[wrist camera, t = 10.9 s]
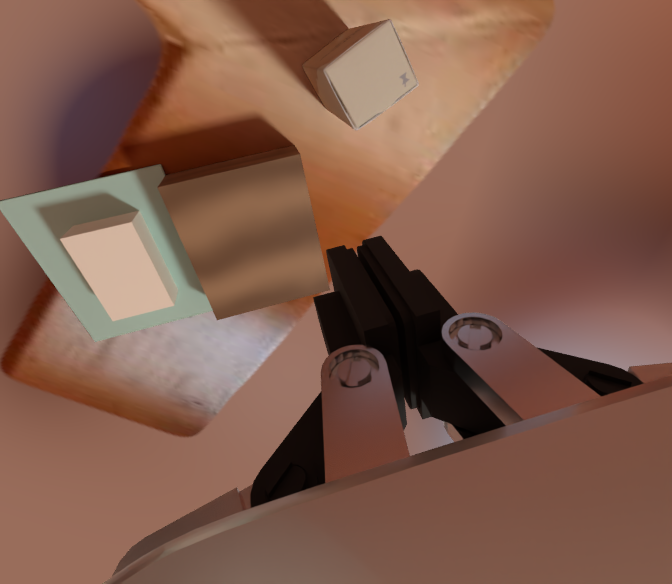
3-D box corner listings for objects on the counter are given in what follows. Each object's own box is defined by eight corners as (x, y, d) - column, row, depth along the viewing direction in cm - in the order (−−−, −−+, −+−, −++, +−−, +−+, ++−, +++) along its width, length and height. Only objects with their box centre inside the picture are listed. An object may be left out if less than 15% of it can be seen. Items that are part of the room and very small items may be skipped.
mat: (-3, 201, 32) (-6, 202, 31) (160, 163, 33) (160, 164, 32) (96, 339, 40) (95, 341, 40) (222, 306, 42) (222, 308, 41)
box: (349, 27, 31) (395, 12, 21) (373, 77, 33) (424, 84, 24) (298, 67, 31) (321, 69, 22) (325, 113, 34) (356, 133, 24)
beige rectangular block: (131, 222, 32) (139, 210, 34) (59, 238, 31) (73, 225, 34) (174, 305, 37) (178, 290, 39) (112, 321, 36) (121, 304, 39)
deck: (165, 174, 33) (157, 187, 30) (294, 145, 34) (300, 154, 31) (219, 299, 41) (217, 320, 38) (322, 271, 42) (329, 289, 39)
